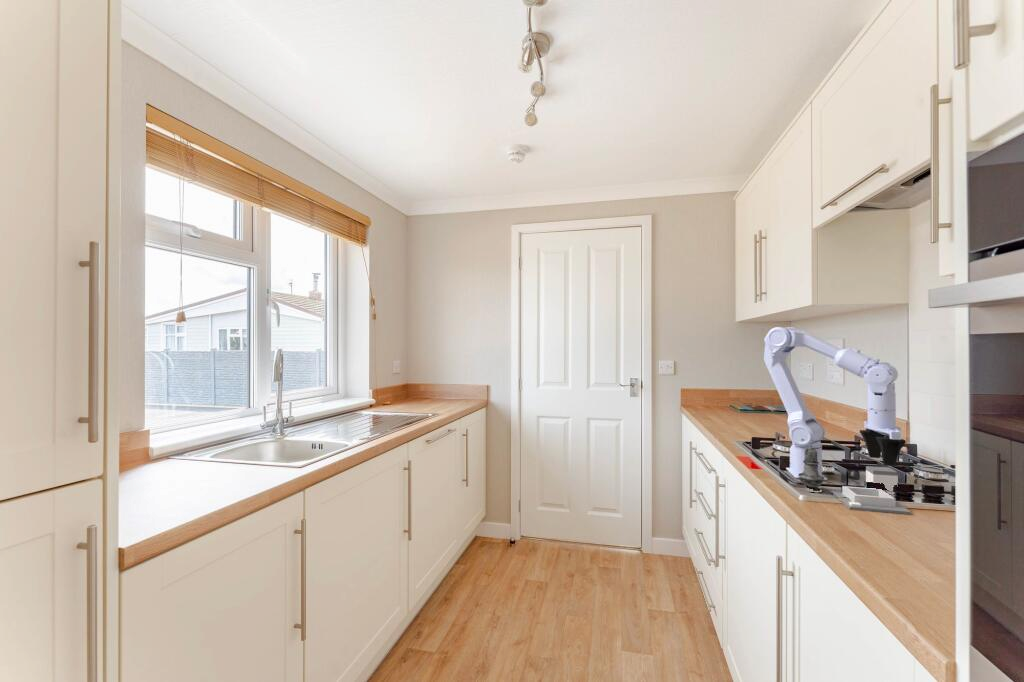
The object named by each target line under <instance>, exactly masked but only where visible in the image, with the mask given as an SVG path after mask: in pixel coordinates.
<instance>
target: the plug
mask: <svg viewBox="0 0 1024 682" xmlns="http://www.w3.org/2000/svg"><path fill="white" fill-rule="evenodd" d="M866 482H873V483H880V484H881V483H883V484H884V485H885V488H886V489H887V490H889V491H893V487H894V485H897V486H898V471H896V470H895V469H893V468H891V467H889V466H887V467H886V466H870V465H866V466H865V483H866Z"/></svg>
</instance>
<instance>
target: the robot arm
mask: <svg viewBox="0 0 1024 682" xmlns="http://www.w3.org/2000/svg"><path fill="white" fill-rule="evenodd" d="M763 339H764V340H763V341H764V353H763V361H764V363H765V367H766V368H767V370H768V372H769V375H770V377H771V380H772V382H773V383H774V386H775V388H776V390H777V392H778V395H779V398H780V400H781V402H782V404H783V406H784V408H785V410H786V413H787V423H786V424H787V425H788V428H789V429H788V431H789V432H788V434H789V435H788V436H789V438H790V440H791V441H792V444H791V446H790V448H789V467H785V469H786V470H787V471H788V472H789V473H790V475H792V476H793V477H794V478H795V479H799V476H798V474H799V473H803V471H804V462H803V461H804V460H805V449H807V448H810V445H812V448H813V449H815V450H816V451H817V462H819V464H818V473H819V475H820V476H822V477H824V480H823V481H828V477H826V476H825V475H824V474H823V444H822V442H821V440H823V439H824V438H825V435H826V432H825V429H824V427H823V425H822V424H821V423H819V422H818V420H817V419H816V417H815V415H814V414H813V413H812V412H811V411H809V409H808V407H807V405H806V403H805V400H804V399H803V396H802V395H801V392H800V390H799V387H798V385H797V383H796V381H795V379H794V376H793V375H792V373H791V370H790V368H789V366H788V364H787V361H786V360H787V358H788V357H789V354H790V353H791V352H792V351H793V350H794V349H796V348H797V347H798V348H799V347H801V348H804V347H805V348H807V349H809V350H812V351H814V352H816V353H818V354H821V355H822V356H823V355H824V356H825V357H827V358H830V359H833V360H834V362H835V364H836V366H837V367H838V368H840V369H843V370H845V371H847V372H849V373H851V374H853V375H854V376H857V377H858V378H864V380H865V382H866V383H867V397H866V398H867V405H866V407H867V420H864V421H863V423H864V424H863V428H864V429H859V433H860V435H861V436H862V438H863V441H864V443H865V446H866V450H867V453H868V457H869V458H872V459H873V458H874V459H880V457H881V460H882V463H883V465H884V466H885V467H886V466H887V467H889V466H890V467H894V466H895V465H896V463H897V461H898V460H897V459H898V456H899V454H900V452H901V450H902V448H903V447H904V445H906V443H907V440H906V439H904V438H902V432H901V431H902V427H901V426H898V425H896V424H897V423H896V422H897V421H896V420H897V418H896V416H897V415H896V413H897V411H896V409H897V408H896V407H897V406H896V404H897V403H896V395H897V394H896V383H895V382H896V380H897V379H898V376H899V373H898V370H897V368H896V367H894V366H893V365H891V364H890V363H889V362H880V359H879V358H877V357H874V358H873V357H871V356H868V355H867V354H863V353H862V352H861V349H858V348H855V347H854V348H851V347H848V348H844V349H841V348H839V347H837V346H835V345H834V344H831V343H829V342H828V341H825V340H823V339H821V338H819V337H817V336H815V335H813V334H811V333H809V332H806V331H804V330H801V329H797V328H795V327H792V326H787V327H781V326H776V327H773V328H771V329H770V330H768V332H767V333H766V336H765V337H764V338H763Z"/></svg>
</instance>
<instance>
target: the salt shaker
mask: <svg viewBox="0 0 1024 682" xmlns="http://www.w3.org/2000/svg"><path fill="white" fill-rule="evenodd" d="M803 462H804V471H803V473H799V474H798V476H799V478H798V479H799V482H800V483H801V484H802V485H806V487H807V488H809V489H813V491H820V490H822V488H820V486H822V485H823V482H824V481H825V480H824V477H822V476H820V475H819V473H818V464H819V462H817V451H816V450H815V449H813V448H812V445H810V448H807V449H805V460H804V461H803Z"/></svg>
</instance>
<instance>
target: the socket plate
mask: <svg viewBox="0 0 1024 682" xmlns="http://www.w3.org/2000/svg"><path fill="white" fill-rule="evenodd" d="M841 487H842V488H841V490H834V489H829V492H830V491H831V492H832V493H833V494H835V495H836V496H837V497H847V498H849V499H850V500H851V501H845V500H842V502H841V503H842V504H843V505H844V506H845V507H846V508H847V509H849V510H851V511H852V510H854V511H865V512H866V511H867V512H875V513H876V512H878V513H888V514H889V513H890V514H898V515H899V514H900V515H901V514H902V515H910V516H911V515H912V511H910V509H908V508H906V507H904V506H903V505H902V504H900V503H899V502H897V503H895V501H897V500H896V497H894V496H893V495H889V494H888V493H886V492H885V491H883V490H882V489H876V488H866V487H863V486H861V487H859V486H848V485H847V486H846V485H845V486H843V485H842V486H841ZM840 491H842V493H841V492H840Z"/></svg>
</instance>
